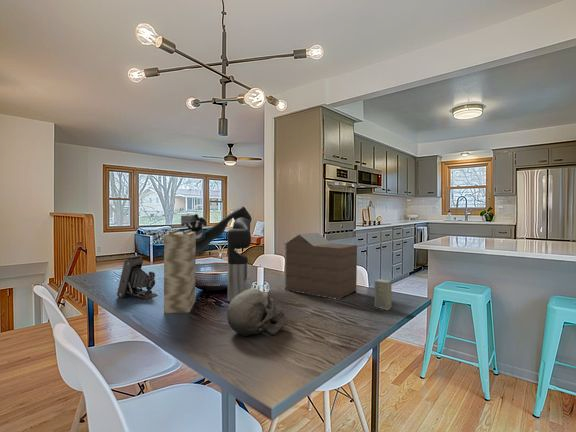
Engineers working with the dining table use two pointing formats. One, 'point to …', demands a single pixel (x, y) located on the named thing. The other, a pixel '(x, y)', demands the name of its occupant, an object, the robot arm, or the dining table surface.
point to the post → (179, 271)
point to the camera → (135, 279)
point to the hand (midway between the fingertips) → (191, 215)
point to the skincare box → (383, 293)
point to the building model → (320, 266)
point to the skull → (255, 313)
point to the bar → (188, 218)
